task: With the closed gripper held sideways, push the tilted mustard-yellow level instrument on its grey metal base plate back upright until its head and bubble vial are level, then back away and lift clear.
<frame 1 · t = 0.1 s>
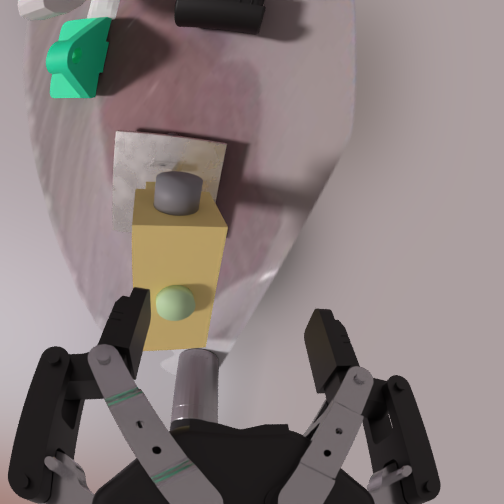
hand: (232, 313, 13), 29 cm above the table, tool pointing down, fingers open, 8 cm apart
end cap: (223, 12, 26), on the table
grey metal base plate: (167, 183, 39), on the table
camera mount: (84, 57, 27), on the table, touching heart sculpture
instrument: (164, 235, 27), point 15 cm above the table, hinge at 16.0°
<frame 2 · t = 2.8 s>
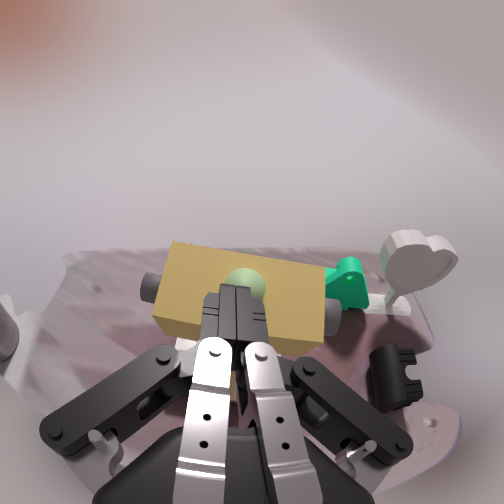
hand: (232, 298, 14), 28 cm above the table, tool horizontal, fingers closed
end cap: (381, 387, 39), on the table
grey metal base plate: (226, 358, 40), on the table
camera mount: (333, 293, 52), on the table, touching heart sculpture
heart sculpture: (385, 305, 52), on the table, touching camera mount
instrument: (235, 324, 28), point 15 cm above the table, hinge at 15.3°
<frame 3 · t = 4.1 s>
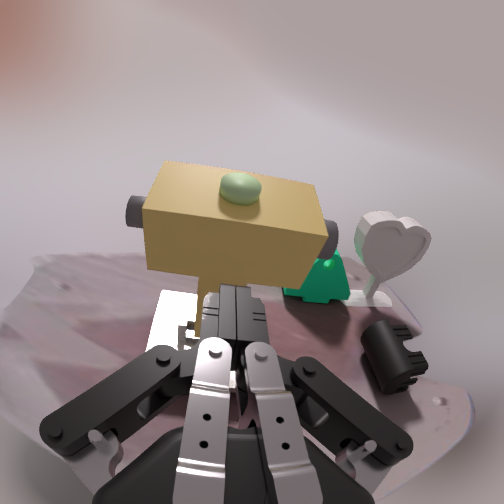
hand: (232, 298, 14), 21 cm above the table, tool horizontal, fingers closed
end cap: (379, 371, 37), on the table
grey metal base plate: (208, 349, 36), on the table
camera mount: (311, 289, 52), on the table, touching heart sculpture
heart sculpture: (365, 299, 53), on the table, touching camera mount
instrument: (221, 274, 26), point 15 cm above the table, hinge at 15.3°
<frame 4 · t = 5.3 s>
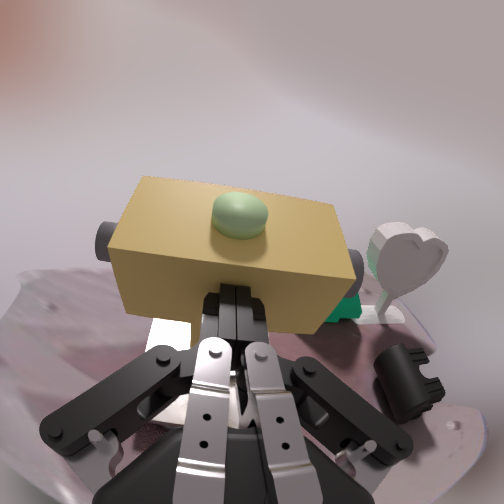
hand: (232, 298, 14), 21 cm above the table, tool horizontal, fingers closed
end cap: (392, 397, 33), on the table
grey metal base plate: (206, 381, 31), on the table
camera mount: (319, 307, 47), on the table, touching heart sculpture
heart sculpture: (376, 315, 48), on the table, touching camera mount
instrument: (219, 311, 21), point 15 cm above the table, hinge at 15.1°, touching gripper
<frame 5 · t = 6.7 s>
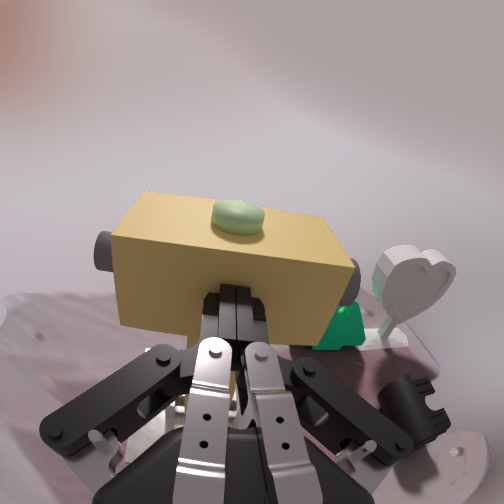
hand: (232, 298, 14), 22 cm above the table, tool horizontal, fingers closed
end cap: (396, 428, 29), on the table
grey metal base plate: (202, 420, 28), on the table
camera mount: (320, 333, 44), on the table, touching heart sculpture
heart sculpture: (379, 339, 45), on the table, touching camera mount
instrument: (216, 336, 20), point 15 cm above the table, hinge at 0.3°, touching gripper
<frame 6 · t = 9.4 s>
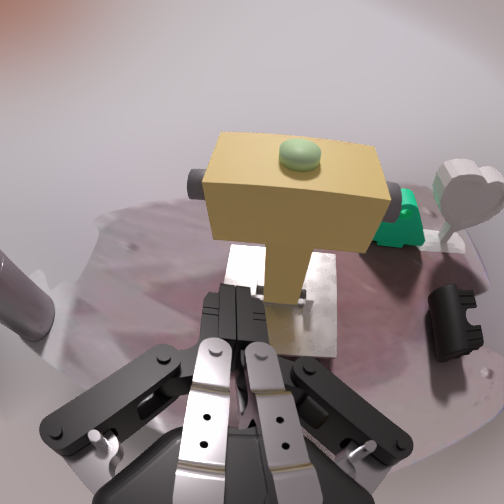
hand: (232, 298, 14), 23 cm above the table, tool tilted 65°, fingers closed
end cap: (440, 332, 35), on the table
grey metal base plate: (278, 306, 39), on the table
camera mount: (386, 229, 46), on the table, touching heart sculpture
heart sculpture: (439, 241, 45), on the table, touching camera mount
instrument: (288, 239, 26), point 15 cm above the table, hinge at 0.3°
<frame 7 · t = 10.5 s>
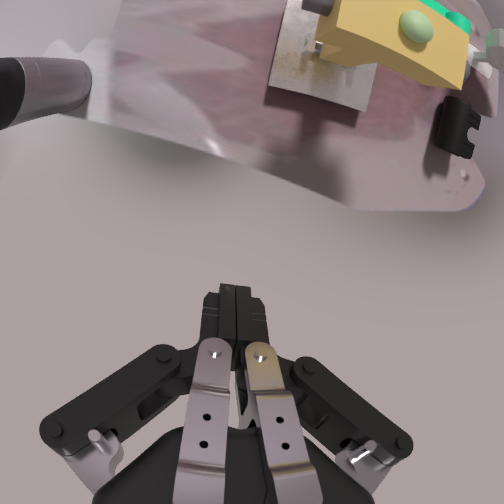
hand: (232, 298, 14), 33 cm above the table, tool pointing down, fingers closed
end cap: (444, 124, 39), on the table
grey metal base plate: (324, 54, 34), on the table
camera mount: (431, 22, 28), on the table, touching heart sculpture
heart sculpture: (472, 56, 30), on the table, touching camera mount
instrument: (366, 39, 21), point 15 cm above the table, hinge at 0.3°
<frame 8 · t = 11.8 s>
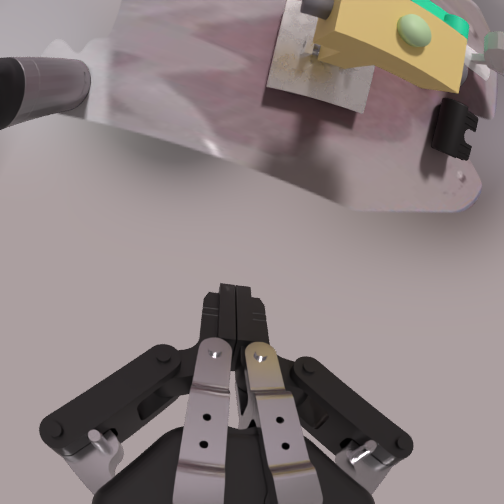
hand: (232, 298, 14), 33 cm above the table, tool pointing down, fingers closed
end cap: (441, 125, 40), on the table
grey metal base plate: (322, 56, 34), on the table
camera mount: (430, 24, 29), on the table, touching heart sculpture
heart sculpture: (470, 58, 31), on the table, touching camera mount
instrument: (364, 42, 21), point 15 cm above the table, hinge at 0.3°
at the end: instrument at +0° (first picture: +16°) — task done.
